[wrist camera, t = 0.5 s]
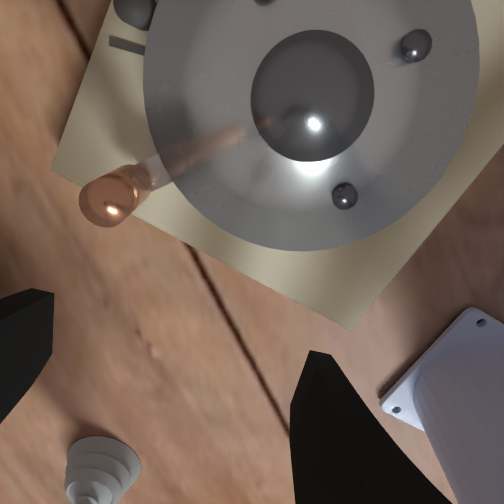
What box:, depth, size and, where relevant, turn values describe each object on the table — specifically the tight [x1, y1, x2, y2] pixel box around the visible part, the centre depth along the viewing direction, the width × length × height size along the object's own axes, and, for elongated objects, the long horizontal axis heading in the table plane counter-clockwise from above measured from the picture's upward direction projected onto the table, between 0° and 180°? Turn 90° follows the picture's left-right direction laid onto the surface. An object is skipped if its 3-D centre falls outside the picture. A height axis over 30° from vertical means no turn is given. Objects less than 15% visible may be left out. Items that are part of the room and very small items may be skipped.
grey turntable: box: [79, 0, 480, 252], centre depth 13 cm, size 14×12×4 cm
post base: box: [50, 0, 504, 331], centre depth 15 cm, size 16×16×3 cm
